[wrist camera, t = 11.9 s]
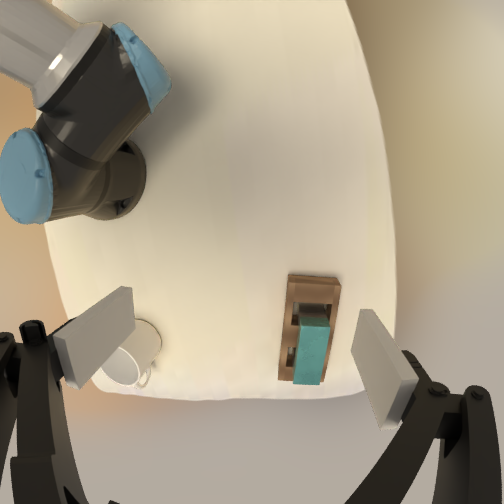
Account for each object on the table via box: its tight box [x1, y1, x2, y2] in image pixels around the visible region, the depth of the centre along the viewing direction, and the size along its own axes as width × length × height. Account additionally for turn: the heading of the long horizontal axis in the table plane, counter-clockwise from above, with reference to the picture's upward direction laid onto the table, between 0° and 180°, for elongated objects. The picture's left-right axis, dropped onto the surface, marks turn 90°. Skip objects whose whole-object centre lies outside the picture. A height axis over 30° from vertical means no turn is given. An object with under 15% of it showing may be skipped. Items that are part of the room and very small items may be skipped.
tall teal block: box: [292, 302, 330, 385], centre depth 43 cm, size 10×4×10 cm, turn 177°
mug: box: [100, 320, 161, 389], centre depth 47 cm, size 9×12×11 cm
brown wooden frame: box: [278, 275, 341, 382], centre depth 46 cm, size 18×8×4 cm, turn 177°
